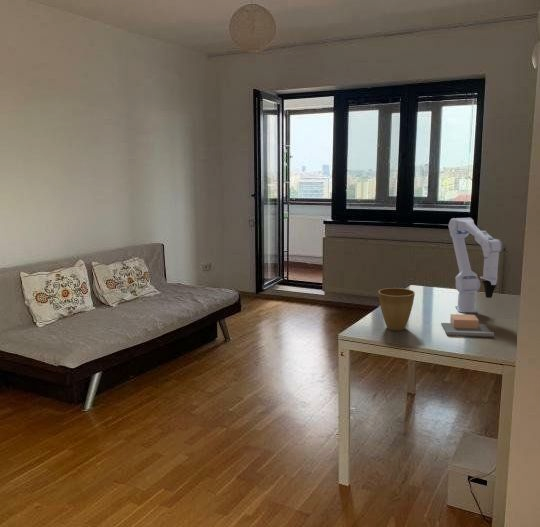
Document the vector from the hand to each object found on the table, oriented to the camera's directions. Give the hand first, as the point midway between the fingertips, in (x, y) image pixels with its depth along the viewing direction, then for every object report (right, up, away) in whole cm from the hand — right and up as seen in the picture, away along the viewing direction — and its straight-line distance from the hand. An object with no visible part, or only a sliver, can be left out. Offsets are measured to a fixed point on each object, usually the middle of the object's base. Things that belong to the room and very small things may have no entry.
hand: (488, 297), depth 238 cm
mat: (-14, -13, -12) cm, 23 cm away
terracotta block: (-13, -9, -3) cm, 16 cm away
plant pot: (-43, -13, -7) cm, 45 cm away
